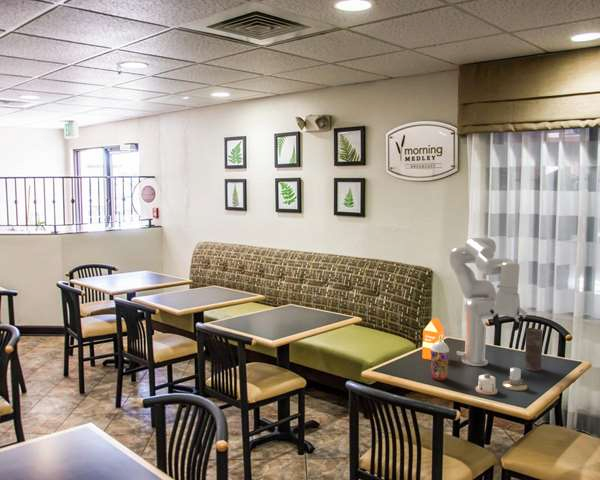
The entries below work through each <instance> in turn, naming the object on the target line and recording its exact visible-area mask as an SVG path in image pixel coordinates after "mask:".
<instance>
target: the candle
mask: <svg viewBox="0 0 600 480" xmlns="http://www.w3.org/2000/svg"><path fill="white" fill-rule="evenodd" d="M524 352H525V353H524V354H525V355H524V367H525V369H527V370H528V371H531V372H539V371H541V370H542V363H543V362H542V357H543V355H542V353H543V329H541V328H534V327H526V328H525V351H524Z"/></svg>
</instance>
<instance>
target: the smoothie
mask: <svg viewBox="0 0 600 480" xmlns="http://www.w3.org/2000/svg"><path fill="white" fill-rule="evenodd" d="M450 351H451V350H450V348H449V346H448V345H447V343H446V342H444V341H443V342H442V341H441V335H440V341H437V342H435V343H434V344H433V345H432V347H431V360H430V372H431V377H432V379H433V380H435V381H445V380H446V378H447V376H448V367H449V360H450V359H449V358H450Z"/></svg>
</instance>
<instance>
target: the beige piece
mask: <svg viewBox="0 0 600 480" xmlns="http://www.w3.org/2000/svg"><path fill="white" fill-rule="evenodd" d="M509 369H510V370H509V376H507V380H505V381H502V387H503V388H505V389H506V390H510V391H515V392H516V391H517V392H524V391H526V390H528V384H526V383H524V382H523V378H521V376H522V375H521V374H522V369H521V368H519V367H515V366H514V367H510V368H509Z"/></svg>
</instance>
